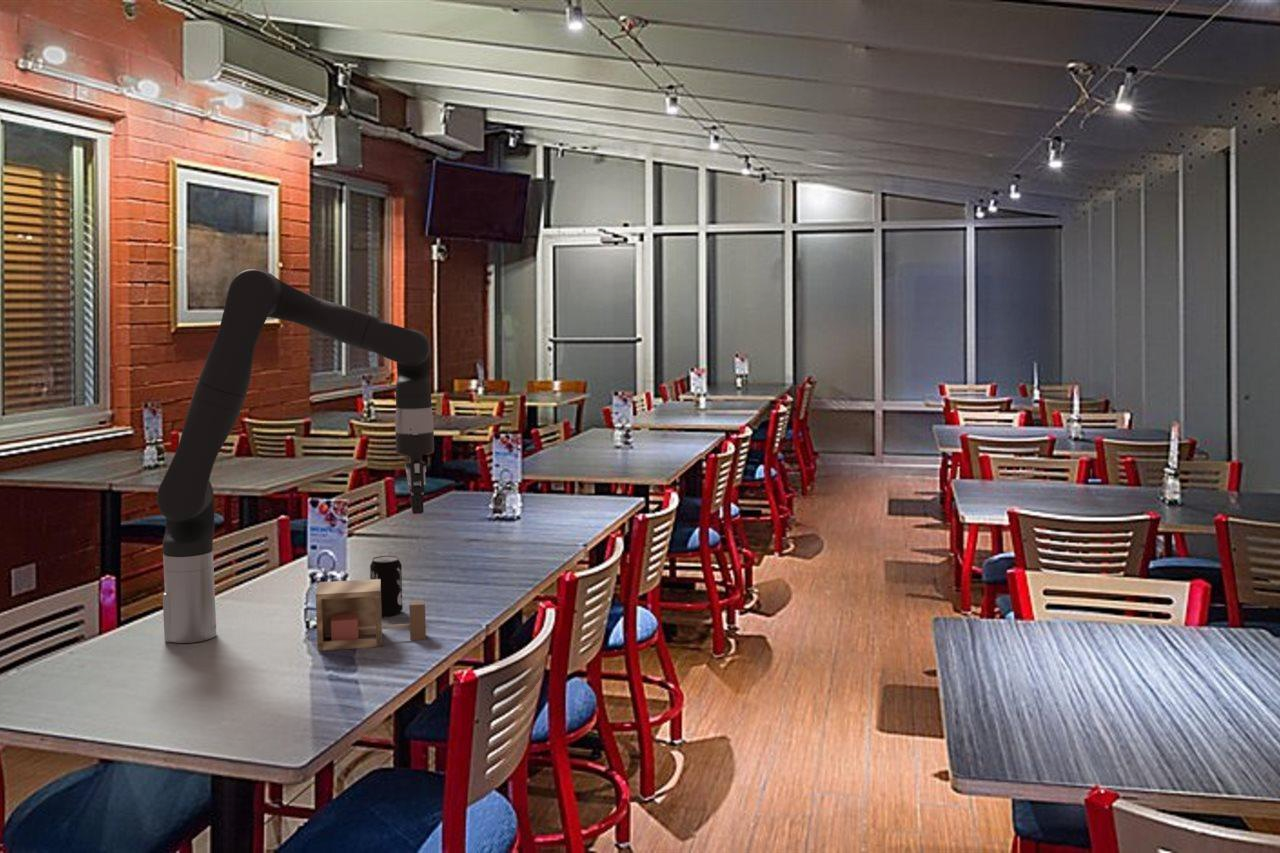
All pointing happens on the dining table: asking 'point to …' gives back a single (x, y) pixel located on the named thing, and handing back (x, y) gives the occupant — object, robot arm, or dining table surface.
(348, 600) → the oak shelf
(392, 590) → the beverage can
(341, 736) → the dining table surface
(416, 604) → the corded block
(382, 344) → the robot arm
